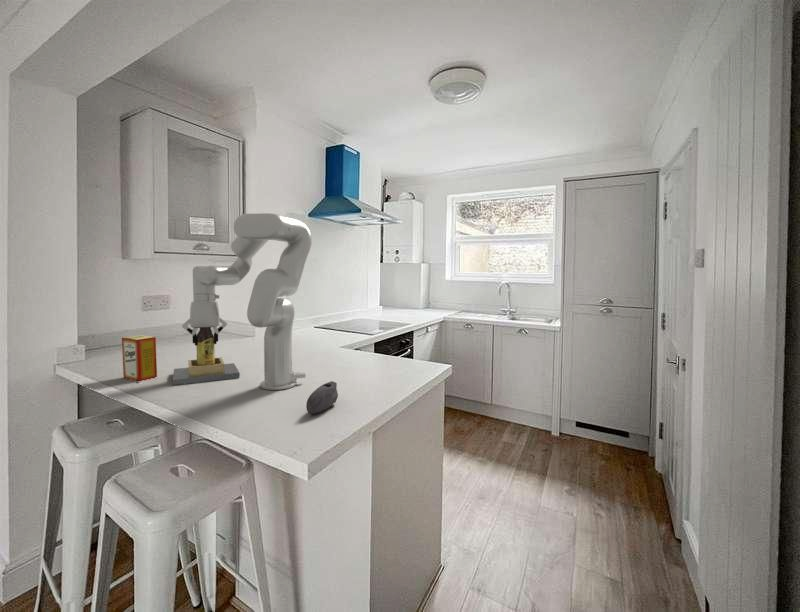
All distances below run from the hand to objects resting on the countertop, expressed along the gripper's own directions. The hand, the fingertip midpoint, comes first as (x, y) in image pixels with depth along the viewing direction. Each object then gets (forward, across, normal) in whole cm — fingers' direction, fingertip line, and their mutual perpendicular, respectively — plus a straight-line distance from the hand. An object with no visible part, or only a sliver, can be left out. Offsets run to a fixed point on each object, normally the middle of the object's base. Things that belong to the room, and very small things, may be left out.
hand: (205, 343), depth 146 cm
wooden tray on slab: (+13, 0, 0) cm, 13 cm away
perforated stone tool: (+13, -28, +57) cm, 65 cm away
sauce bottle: (+10, 0, 0) cm, 10 cm away
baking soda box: (+13, +22, -8) cm, 27 cm away
